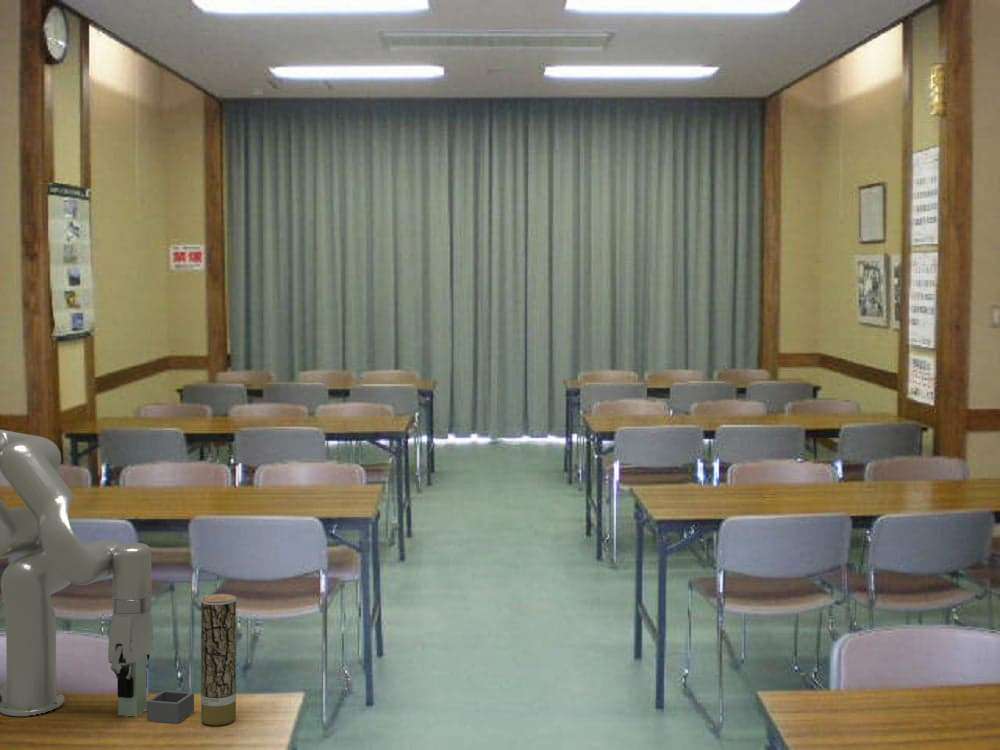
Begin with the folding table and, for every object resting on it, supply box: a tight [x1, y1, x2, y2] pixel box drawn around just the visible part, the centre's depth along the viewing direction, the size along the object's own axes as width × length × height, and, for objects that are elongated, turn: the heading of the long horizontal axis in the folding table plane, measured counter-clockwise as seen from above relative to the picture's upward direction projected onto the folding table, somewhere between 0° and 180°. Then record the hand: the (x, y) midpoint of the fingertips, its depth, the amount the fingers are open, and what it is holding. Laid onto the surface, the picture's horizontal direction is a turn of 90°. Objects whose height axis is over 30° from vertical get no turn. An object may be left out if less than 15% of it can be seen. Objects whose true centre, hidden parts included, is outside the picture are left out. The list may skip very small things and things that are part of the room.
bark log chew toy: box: [200, 593, 237, 727], centre depth 222 cm, size 7×7×25 cm
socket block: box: [146, 689, 195, 725], centre depth 225 cm, size 7×7×4 cm
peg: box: [117, 656, 147, 716], centre depth 226 cm, size 4×4×12 cm
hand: (132, 692), depth 227 cm, fingers open, 4 cm apart
